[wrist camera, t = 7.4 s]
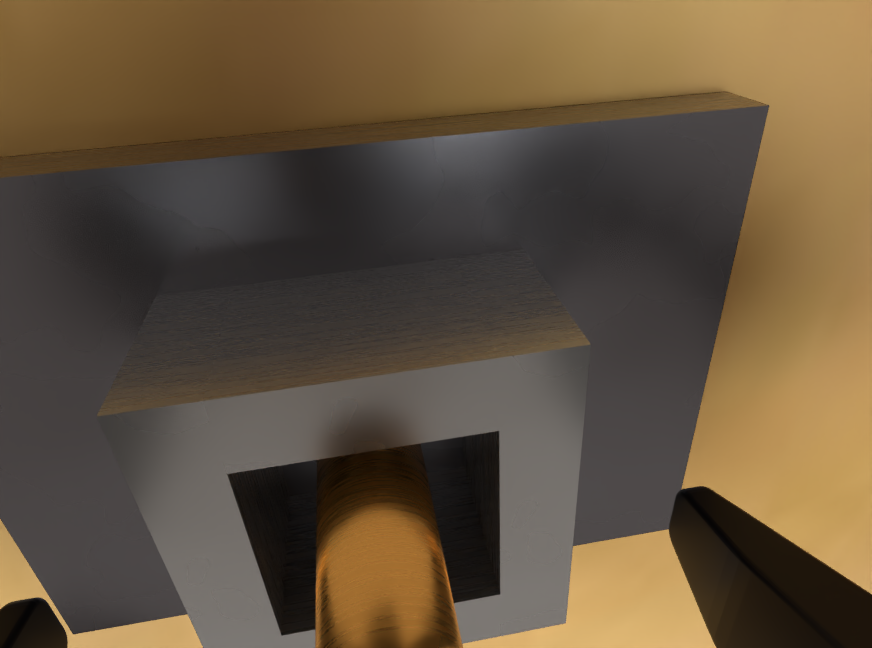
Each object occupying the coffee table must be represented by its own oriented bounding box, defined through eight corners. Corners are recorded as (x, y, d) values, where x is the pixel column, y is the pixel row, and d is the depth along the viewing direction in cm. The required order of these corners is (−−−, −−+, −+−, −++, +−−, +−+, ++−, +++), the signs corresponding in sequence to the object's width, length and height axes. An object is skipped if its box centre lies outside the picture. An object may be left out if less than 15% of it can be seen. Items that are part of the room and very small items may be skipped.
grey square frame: (522, 249, 10) (591, 344, 8) (518, 496, 13) (566, 623, 11) (156, 295, 10) (96, 416, 7) (242, 544, 13) (222, 690, 10)
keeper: (726, 91, 11) (1126, 217, 5) (649, 492, 16) (813, 755, 11) (-144, 170, 9) (-793, 461, 4) (90, 586, 14) (-43, 950, 9)
